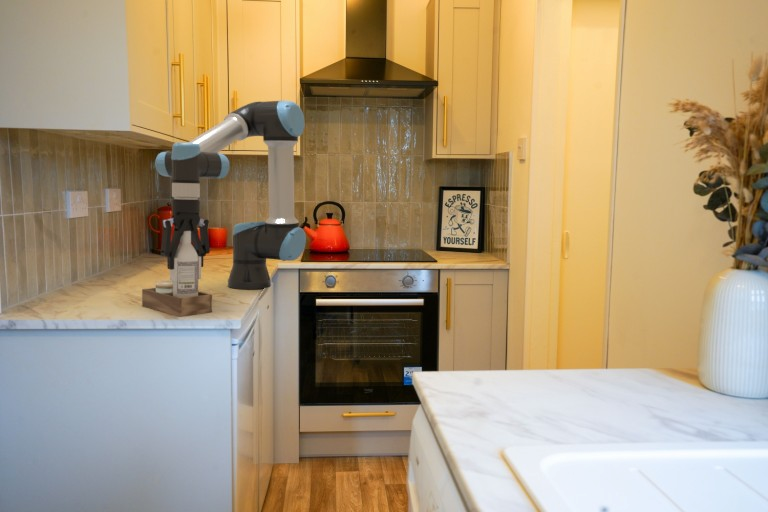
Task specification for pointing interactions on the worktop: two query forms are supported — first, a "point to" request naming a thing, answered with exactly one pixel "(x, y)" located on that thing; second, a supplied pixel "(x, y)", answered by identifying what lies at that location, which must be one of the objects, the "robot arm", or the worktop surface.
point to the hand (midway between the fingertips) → (185, 279)
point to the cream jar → (164, 286)
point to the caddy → (176, 303)
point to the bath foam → (186, 268)
